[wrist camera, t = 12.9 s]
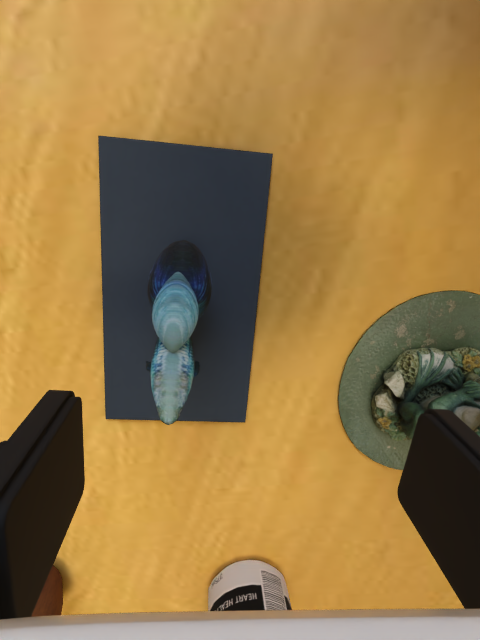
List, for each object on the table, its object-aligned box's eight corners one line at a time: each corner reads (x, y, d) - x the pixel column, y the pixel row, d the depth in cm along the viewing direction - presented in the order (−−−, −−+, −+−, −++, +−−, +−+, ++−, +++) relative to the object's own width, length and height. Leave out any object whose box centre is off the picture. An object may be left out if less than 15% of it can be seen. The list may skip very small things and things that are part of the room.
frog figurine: (554, 297, 33) (731, 348, 22) (493, 470, 38) (610, 580, 27) (358, 283, 31) (443, 330, 20) (323, 467, 36) (374, 585, 25)
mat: (99, 136, 26) (98, 135, 25) (271, 154, 27) (272, 153, 27) (106, 416, 32) (105, 419, 32) (244, 420, 34) (245, 422, 33)
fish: (152, 356, 31) (128, 427, 21) (154, 229, 28) (128, 246, 18) (205, 359, 31) (205, 429, 22) (214, 234, 28) (218, 253, 19)
